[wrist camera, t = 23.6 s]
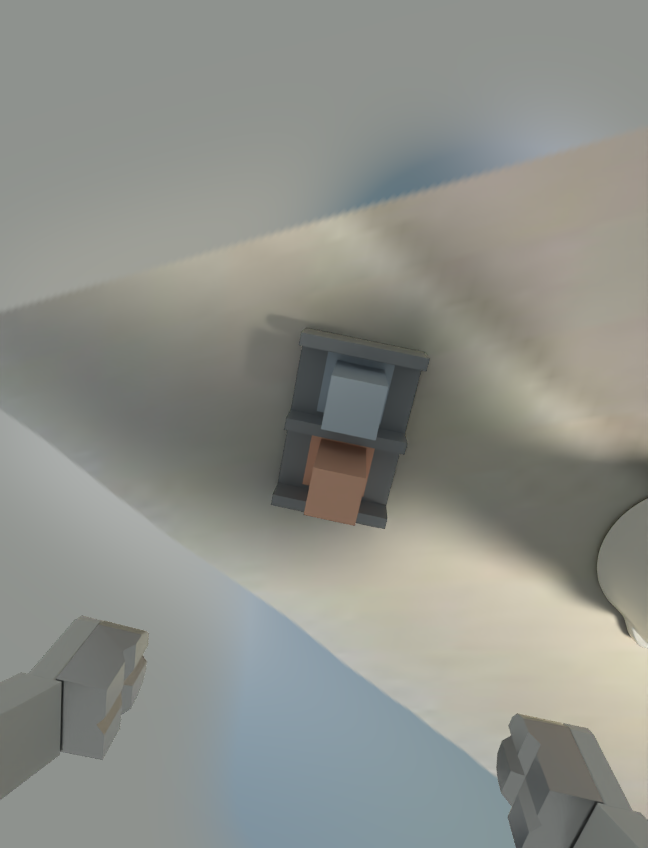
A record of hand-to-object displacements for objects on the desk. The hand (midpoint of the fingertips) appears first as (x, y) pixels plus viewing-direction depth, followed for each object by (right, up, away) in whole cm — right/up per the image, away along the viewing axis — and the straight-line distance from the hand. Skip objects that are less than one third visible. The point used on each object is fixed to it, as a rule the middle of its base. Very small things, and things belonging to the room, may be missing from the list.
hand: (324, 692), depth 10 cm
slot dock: (+2, +6, +31) cm, 31 cm away
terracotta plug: (+1, +2, +31) cm, 31 cm away
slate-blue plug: (+3, +9, +29) cm, 30 cm away
